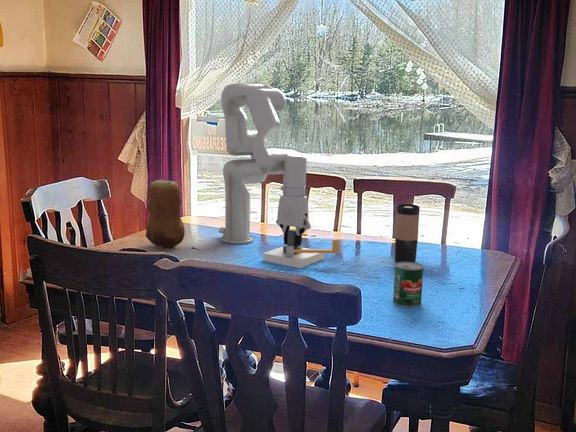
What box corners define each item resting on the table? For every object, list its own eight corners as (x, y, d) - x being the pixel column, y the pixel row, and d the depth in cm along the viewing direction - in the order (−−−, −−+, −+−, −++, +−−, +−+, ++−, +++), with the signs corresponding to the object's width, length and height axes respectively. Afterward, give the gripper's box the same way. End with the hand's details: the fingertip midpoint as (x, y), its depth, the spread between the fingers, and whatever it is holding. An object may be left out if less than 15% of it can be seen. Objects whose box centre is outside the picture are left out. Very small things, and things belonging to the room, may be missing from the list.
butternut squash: (178, 241, 241) (178, 177, 237) (189, 249, 230) (188, 181, 225) (142, 244, 235) (141, 178, 231) (151, 253, 224) (149, 183, 219)
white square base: (262, 264, 213) (263, 253, 212) (287, 255, 225) (288, 244, 224) (300, 272, 204) (300, 260, 204) (323, 262, 217) (324, 251, 216)
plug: (279, 258, 214) (279, 231, 212) (289, 254, 219) (290, 227, 217) (294, 261, 210) (295, 233, 209) (305, 257, 216) (306, 230, 214)
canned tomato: (404, 296, 183) (407, 259, 181) (426, 303, 177) (429, 266, 175) (386, 301, 178) (389, 264, 176) (409, 309, 172) (411, 270, 170)
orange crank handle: (285, 255, 209) (286, 238, 208) (337, 255, 210) (338, 239, 209) (286, 257, 206) (286, 240, 205) (338, 257, 208) (339, 240, 207)
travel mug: (417, 260, 222) (421, 205, 218) (414, 266, 215) (418, 208, 211) (395, 258, 225) (399, 203, 221) (392, 263, 218) (395, 206, 214)
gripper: (267, 190, 212) (266, 243, 215) (309, 196, 203) (307, 251, 206) (280, 187, 218) (278, 239, 221) (321, 193, 209) (319, 246, 212)
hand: (292, 244), depth 214 cm, fingers closed on plug, 3 cm apart
